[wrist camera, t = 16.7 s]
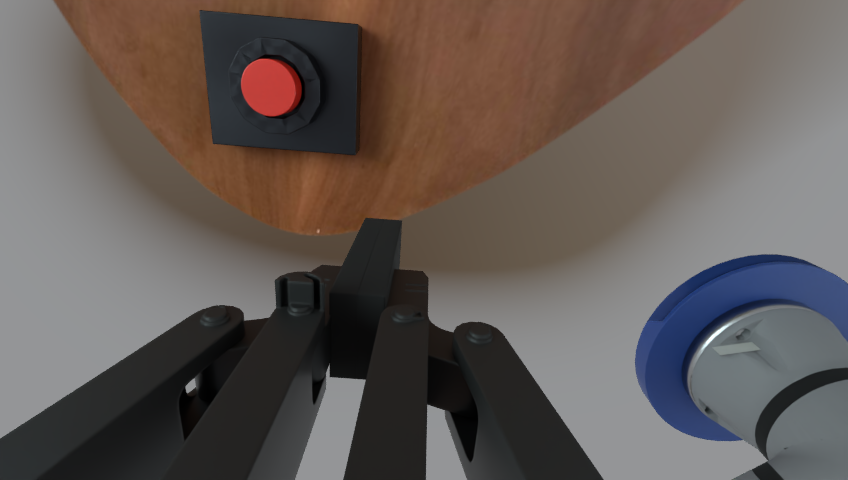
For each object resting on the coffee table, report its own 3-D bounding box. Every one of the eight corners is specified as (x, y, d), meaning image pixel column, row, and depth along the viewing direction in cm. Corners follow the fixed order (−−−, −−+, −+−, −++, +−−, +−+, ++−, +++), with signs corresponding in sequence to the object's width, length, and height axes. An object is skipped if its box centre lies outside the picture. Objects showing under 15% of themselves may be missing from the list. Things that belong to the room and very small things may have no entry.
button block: (362, 27, 34) (354, 21, 31) (359, 150, 38) (352, 159, 34) (212, 13, 34) (186, 6, 30) (224, 140, 38) (202, 147, 34)
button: (301, 61, 32) (294, 61, 30) (302, 116, 33) (296, 118, 32) (247, 56, 32) (238, 56, 30) (251, 112, 33) (242, 114, 32)
